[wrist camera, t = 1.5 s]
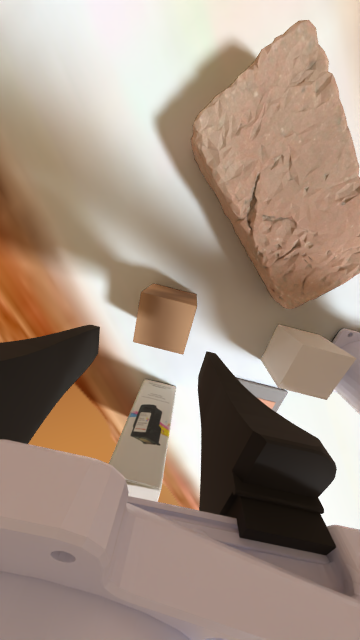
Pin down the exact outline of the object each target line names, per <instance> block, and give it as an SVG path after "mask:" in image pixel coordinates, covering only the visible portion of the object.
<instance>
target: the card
mask: <svg viewBox="0 0 360 640" xmlns="http://www.w3.org/2000/svg"><path fill="white" fill-rule="evenodd" d="M237 379H238V378H237ZM238 380H239V381H240V383H241V384H242V385H243V386H244V387H245V388H247V389H248V390H249V391H250V392H251V393H252V394H253V395H254V396H255V397H257V398H258V399H259V400H260V401H262V402H263V403H264V404H265V405H267V406H268V407H269V408H271V409H272V410H273V411H275V412H276V411H277V410H278V408H279V406H280V405H281V403H282V401H283V400H284V398H285V396H286V395H287V393H288V392H287V391H285V390H281V389H277V388H274V387H270V386H266V385H262V384H258V383H254V382H250V381H246V380H242V379H238Z"/></svg>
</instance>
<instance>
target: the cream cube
mask: <svg viewBox="0 0 360 640" xmlns="http://www.w3.org/2000/svg"><path fill="white" fill-rule="evenodd" d="M356 359H357V358H355V357H354V356H352V355H350V354H349V353H347V352H346V351H344V350H343V349H341V348H339V347H338V346H336V345H335V344H333V343H332V342H330V341H329V340H327V339H325V338H324V337H322V336H321V335H318V334H315V333H311V332H307V331H303V330H299V329H295V328H291V327H287V326H283V325H279V324H278V325H277V327H276V330H275V332H274V334H273V336H272V338H271V340H270V342H269V344H268V346H267V348H266V350H265V352H264V354H263V356H262V358H261V361H262V362H263V364H264V366H265V367H266V369H267V371H268V372H269V374H270V375H271V377H272V379H273V380H274V382H275V383H276V385H277V387H278V388H282V389H286V390H290V391H294V392H298V393H301V394H305V395H309V396H313V397H317V398H321V399H325V400H327V399H328V397H329V396H330V394H331V393H332V392H333V390H334V389H335V388H336V386H337V385H338V383H339V382H340V381H341V379H342V378H343V377H344V375H345V374H346V372H347V371H348V370H349V368H350V367H351V365H352V364H353V363H354V361H355V360H356Z"/></svg>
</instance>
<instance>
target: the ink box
mask: <svg viewBox="0 0 360 640" xmlns="http://www.w3.org/2000/svg"><path fill="white" fill-rule="evenodd" d="M175 393H176V387H175V386H171V385H168V384H164V383H160V382H156V381H151V380H147V379H145V380H144V381H143V383H142V385H141V388H140V390H139V392H138V395H137V397H136V400H135V402H134V404H133V407H132V409H131V412H130V414H129V416H128V419H127V421H126V424H125V426H124V428H123V431H122V433H121V436H120V438H119V440H118V443H117V445H116V448H115V450H114V452H113V455H112V458H111V460H110V462H109V464H110V465H112V466H113V467H114V468H116V469H117V470H118V471H119V472H120V473H121V474H122V475H123V476H124V478H125V480H126V483H127V487H128V491H129V493H128V496H132V497H136V498H141V499H146V500H151V501H155V502H157V501H158V498H159V495H160V491H161V486H162V479H163V473H164V466H165V459H166V452H167V446H168V439H169V432H170V426H171V419H172V412H173V406H174V399H175Z"/></svg>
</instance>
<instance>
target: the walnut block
mask: <svg viewBox="0 0 360 640" xmlns="http://www.w3.org/2000/svg"><path fill="white" fill-rule="evenodd" d="M196 309H197V294H193V293H189V292H185V291H181V290H177V289H173V288H170V287H166V286H162V285H158V284H154V283H153V284H152V285H151V286H149V287H148V288H146V289H145V290H143V291H142V292H141V296H140V302H139V308H138V314H137V321H136V327H135V333H134V339H133V342H136V343H140V344H144V345H147V346H151V347H155V348H159V349H163V350H167V351H171V352H175V353H179V354H184V350H185V347H186V343H187V340H188V336H189V333H190V329H191V326H192V323H193V319H194V316H195V312H196Z"/></svg>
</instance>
